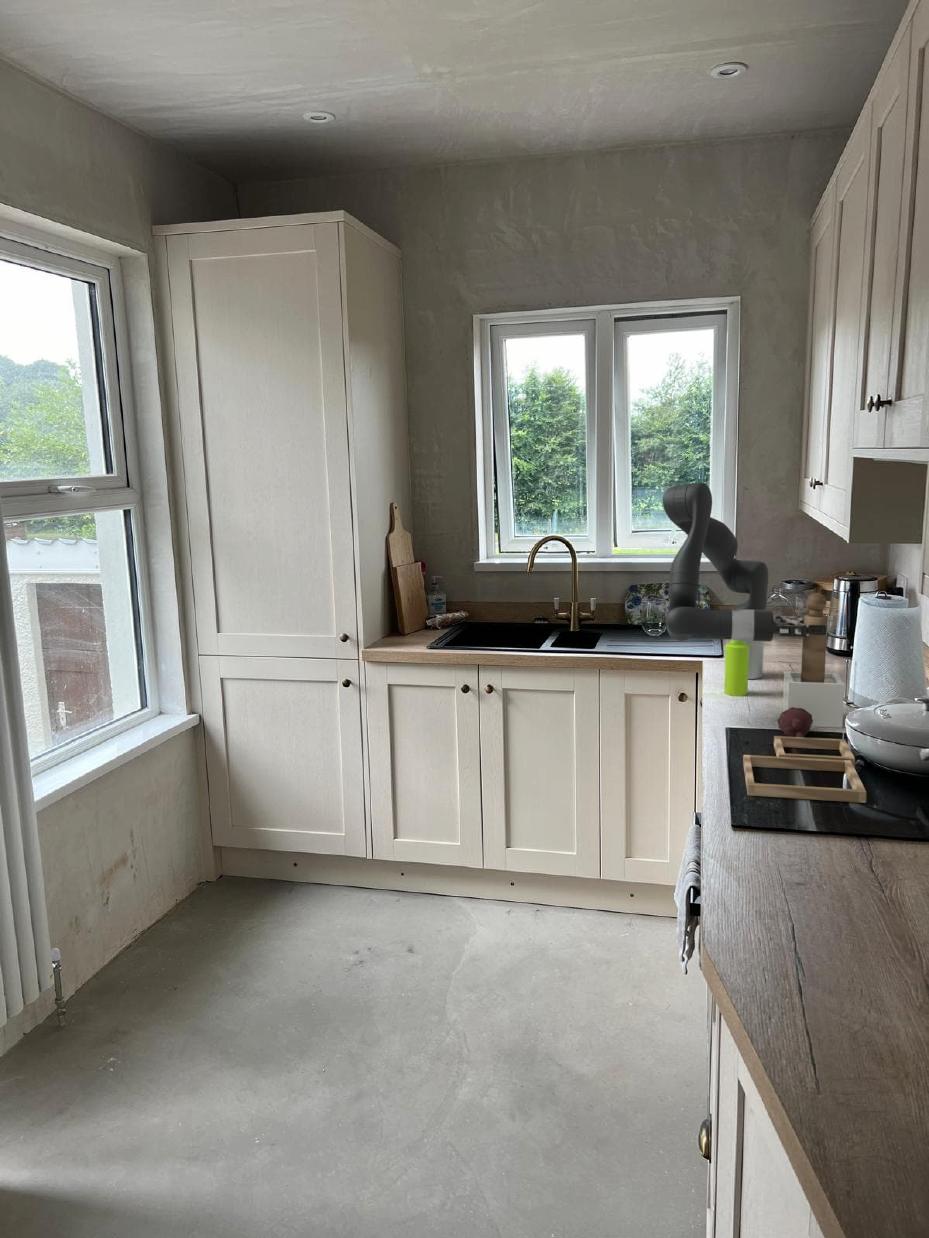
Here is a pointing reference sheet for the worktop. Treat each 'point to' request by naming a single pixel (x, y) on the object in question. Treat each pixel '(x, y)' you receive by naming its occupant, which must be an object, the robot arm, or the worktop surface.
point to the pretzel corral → (804, 791)
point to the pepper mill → (814, 641)
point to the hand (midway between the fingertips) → (824, 626)
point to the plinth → (816, 698)
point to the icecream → (795, 722)
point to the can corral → (815, 744)
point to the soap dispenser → (736, 668)
